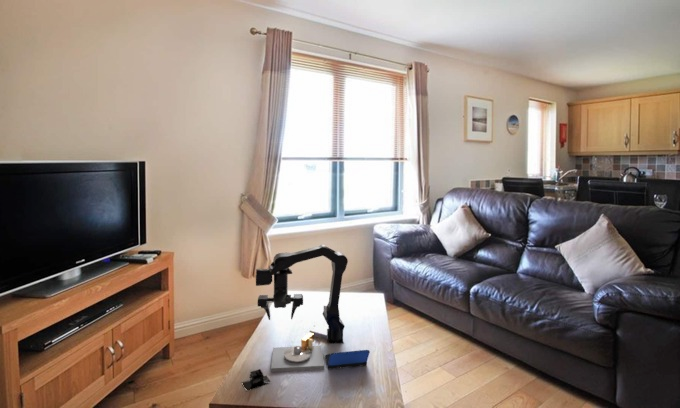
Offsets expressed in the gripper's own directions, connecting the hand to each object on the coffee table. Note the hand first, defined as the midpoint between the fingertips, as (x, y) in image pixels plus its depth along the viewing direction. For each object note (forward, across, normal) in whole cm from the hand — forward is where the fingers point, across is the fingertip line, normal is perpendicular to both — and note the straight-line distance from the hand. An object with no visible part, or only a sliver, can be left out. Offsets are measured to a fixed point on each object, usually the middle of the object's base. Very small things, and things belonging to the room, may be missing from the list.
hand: (280, 319), depth 155 cm
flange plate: (+10, +8, -10) cm, 16 cm away
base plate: (+12, +7, -12) cm, 18 cm away
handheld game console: (+12, +26, -16) cm, 33 cm away
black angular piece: (+13, -8, -25) cm, 29 cm away
